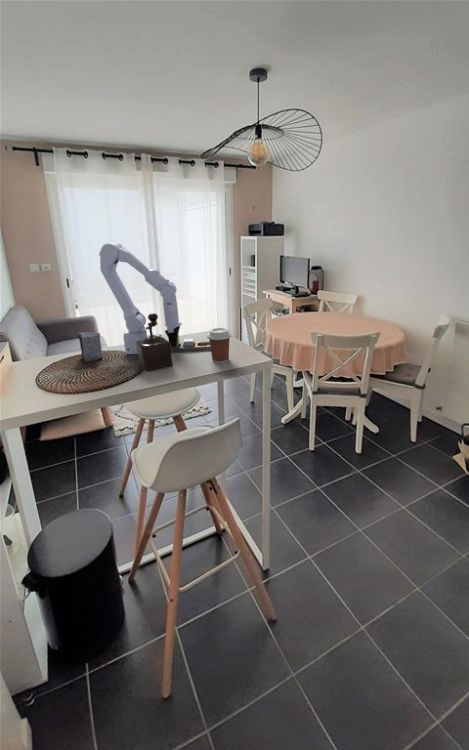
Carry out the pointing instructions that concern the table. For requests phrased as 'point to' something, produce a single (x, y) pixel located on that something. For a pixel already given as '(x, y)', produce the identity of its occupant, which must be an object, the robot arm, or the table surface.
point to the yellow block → (177, 342)
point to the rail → (197, 347)
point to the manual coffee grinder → (154, 349)
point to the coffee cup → (219, 344)
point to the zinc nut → (189, 342)
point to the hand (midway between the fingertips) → (174, 344)
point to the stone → (90, 346)
